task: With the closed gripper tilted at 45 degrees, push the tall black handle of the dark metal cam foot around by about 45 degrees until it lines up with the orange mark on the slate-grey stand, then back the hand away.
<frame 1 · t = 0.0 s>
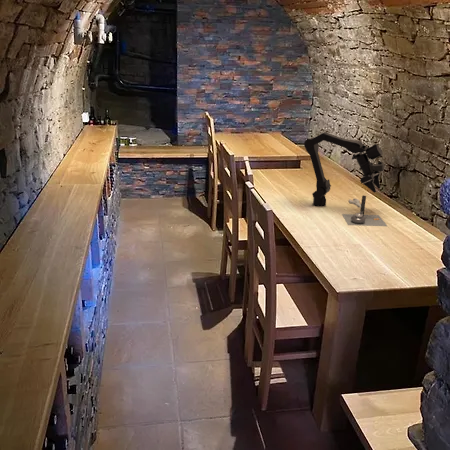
hand: (377, 190, 260), 15 cm above the table, tool tilted 35°, fingers open, 9 cm apart
cam foot: (359, 209, 254), point 7 cm above the table, hinge at 0.0°
adjustable wrench: (358, 208, 280), on the table
level stand: (363, 221, 257), on the table
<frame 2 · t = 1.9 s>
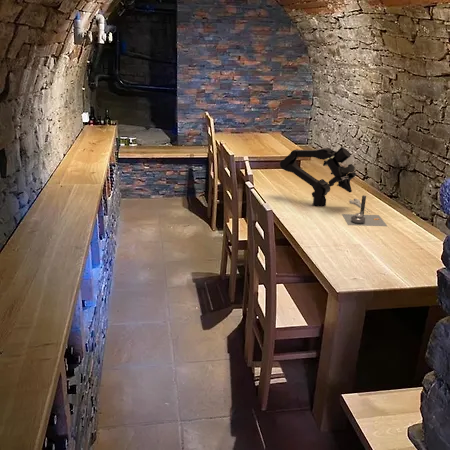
hand: (350, 192, 263), 13 cm above the table, tool tilted 45°, fingers closed
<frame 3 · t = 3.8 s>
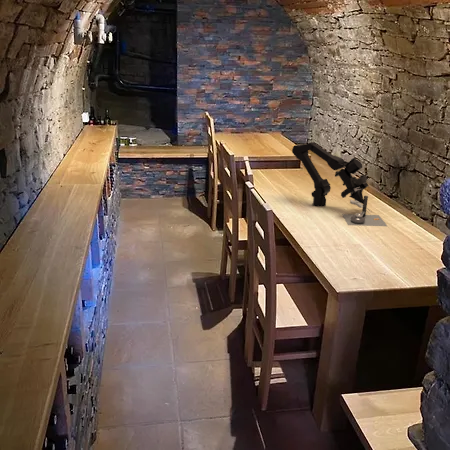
hand: (363, 203, 260), 8 cm above the table, tool tilted 45°, fingers closed, pressing on cam foot
cam foot: (359, 209, 254), point 7 cm above the table, hinge at -7.0°, touching gripper
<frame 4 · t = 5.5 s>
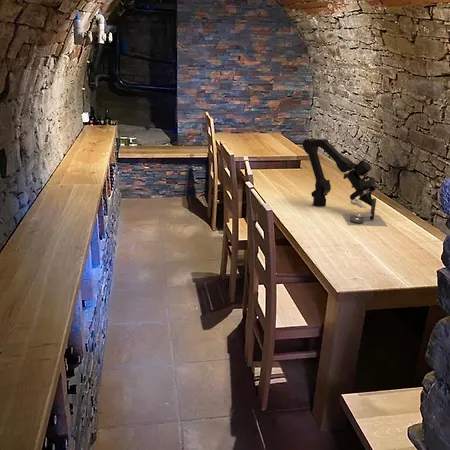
hand: (372, 205, 256), 8 cm above the table, tool tilted 45°, fingers closed
cam foot: (362, 209, 254), point 7 cm above the table, hinge at -45.2°, touching gripper
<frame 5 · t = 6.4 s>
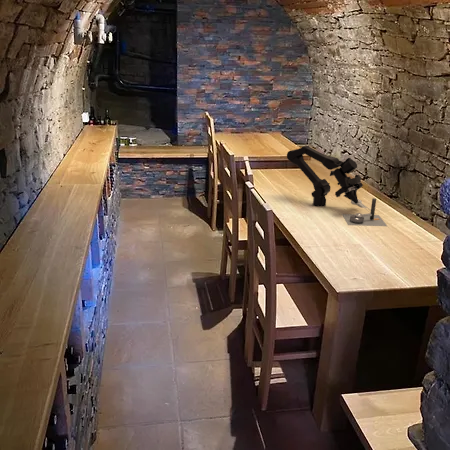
hand: (357, 203, 262), 8 cm above the table, tool tilted 45°, fingers closed
cam foot: (362, 209, 254), point 7 cm above the table, hinge at -45.2°
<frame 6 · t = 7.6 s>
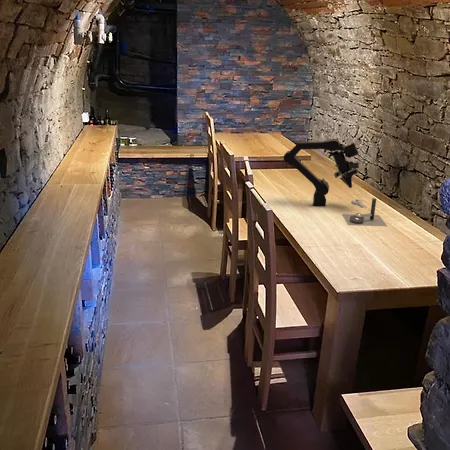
hand: (351, 187, 270), 13 cm above the table, tool tilted 25°, fingers closed
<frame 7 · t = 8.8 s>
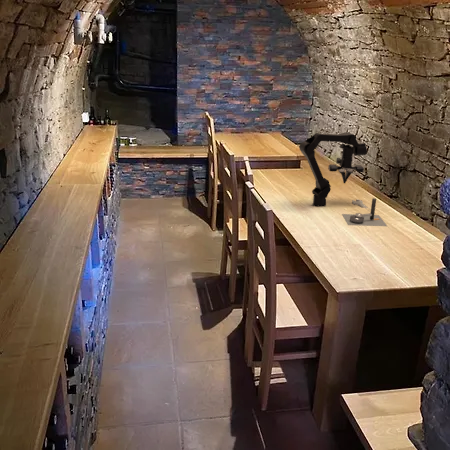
hand: (344, 183, 279), 13 cm above the table, tool pointing down, fingers closed
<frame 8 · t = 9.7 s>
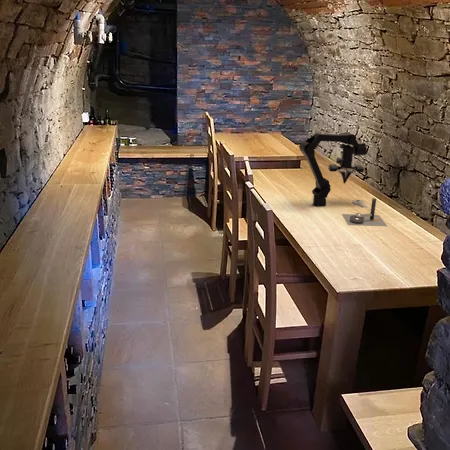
hand: (344, 183, 279), 13 cm above the table, tool pointing down, fingers closed
at the end: cam foot at -45° (first picture: +0°); adjustable wrench moved 2.9 cm from its start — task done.
